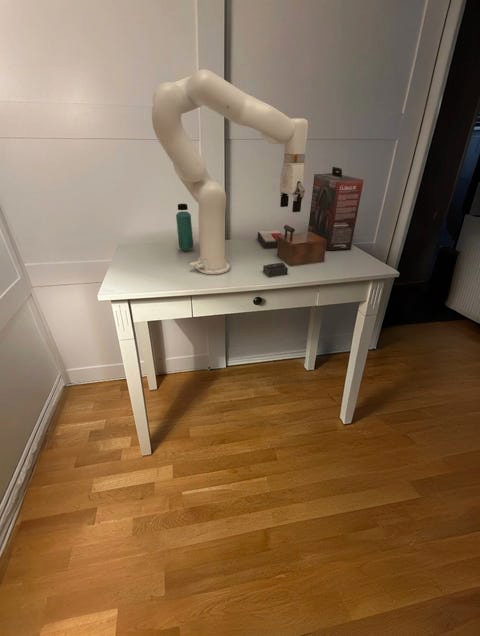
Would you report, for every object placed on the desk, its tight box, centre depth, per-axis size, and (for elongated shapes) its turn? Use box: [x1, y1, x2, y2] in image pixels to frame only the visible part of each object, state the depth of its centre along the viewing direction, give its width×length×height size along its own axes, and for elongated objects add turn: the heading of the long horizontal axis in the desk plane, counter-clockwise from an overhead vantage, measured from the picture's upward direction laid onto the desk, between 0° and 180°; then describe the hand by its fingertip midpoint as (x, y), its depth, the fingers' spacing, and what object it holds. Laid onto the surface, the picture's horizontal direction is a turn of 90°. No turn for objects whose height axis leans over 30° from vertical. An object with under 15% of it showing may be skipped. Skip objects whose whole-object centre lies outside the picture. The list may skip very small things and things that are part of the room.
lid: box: [276, 224, 327, 246], centre depth 126 cm, size 16×13×6 cm
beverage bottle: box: [175, 203, 194, 251], centre depth 134 cm, size 6×7×20 cm
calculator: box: [257, 230, 283, 250], centre depth 149 cm, size 11×4×15 cm
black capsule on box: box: [262, 261, 289, 278], centre depth 117 cm, size 8×5×4 cm
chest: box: [276, 238, 327, 267], centre depth 130 cm, size 16×13×8 cm
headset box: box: [307, 166, 365, 251], centre depth 143 cm, size 25×12×33 cm, turn 12°
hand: (290, 209), depth 120 cm, fingers open, 9 cm apart
